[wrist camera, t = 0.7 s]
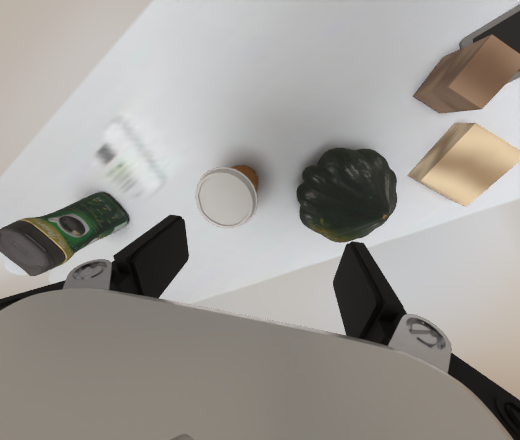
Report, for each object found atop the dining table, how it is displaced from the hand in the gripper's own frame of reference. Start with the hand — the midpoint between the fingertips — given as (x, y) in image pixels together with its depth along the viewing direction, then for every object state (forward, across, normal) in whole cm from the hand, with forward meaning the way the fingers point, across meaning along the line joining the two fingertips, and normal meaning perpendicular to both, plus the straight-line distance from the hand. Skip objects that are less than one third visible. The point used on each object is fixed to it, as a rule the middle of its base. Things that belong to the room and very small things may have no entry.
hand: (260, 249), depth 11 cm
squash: (+28, -10, +3) cm, 30 cm away
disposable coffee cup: (+27, +7, +4) cm, 29 cm away
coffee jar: (+27, +40, +16) cm, 51 cm away
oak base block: (+28, -28, -3) cm, 40 cm away
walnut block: (+28, -21, -13) cm, 37 cm away
